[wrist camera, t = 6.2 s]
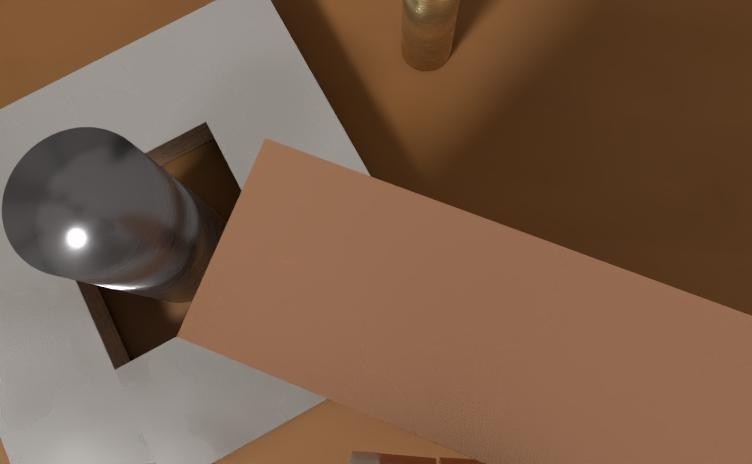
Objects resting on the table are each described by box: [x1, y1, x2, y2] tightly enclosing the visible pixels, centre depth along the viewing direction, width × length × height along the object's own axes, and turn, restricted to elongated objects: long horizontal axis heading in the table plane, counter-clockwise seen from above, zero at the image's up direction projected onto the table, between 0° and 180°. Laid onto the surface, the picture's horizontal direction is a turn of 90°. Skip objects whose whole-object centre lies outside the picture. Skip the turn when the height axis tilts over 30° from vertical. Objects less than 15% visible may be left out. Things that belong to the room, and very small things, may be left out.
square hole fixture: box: [0, 0, 752, 464], centre depth 12 cm, size 15×14×11 cm
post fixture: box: [2, 0, 460, 303], centre depth 16 cm, size 5×12×6 cm, turn 118°
